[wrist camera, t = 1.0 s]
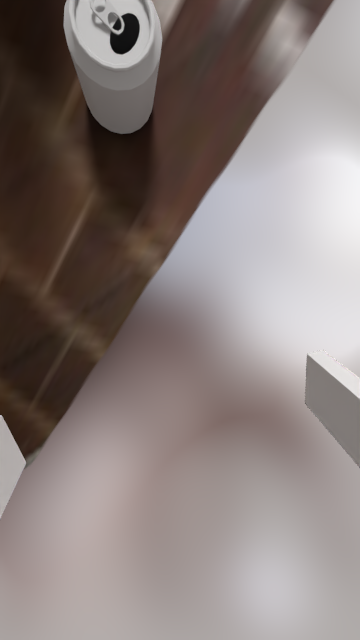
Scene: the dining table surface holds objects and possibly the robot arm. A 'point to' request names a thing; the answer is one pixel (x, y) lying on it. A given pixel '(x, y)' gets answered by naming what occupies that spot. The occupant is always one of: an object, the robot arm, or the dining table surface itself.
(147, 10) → the can
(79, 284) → the dining table surface
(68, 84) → the dining table surface
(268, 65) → the dining table surface
